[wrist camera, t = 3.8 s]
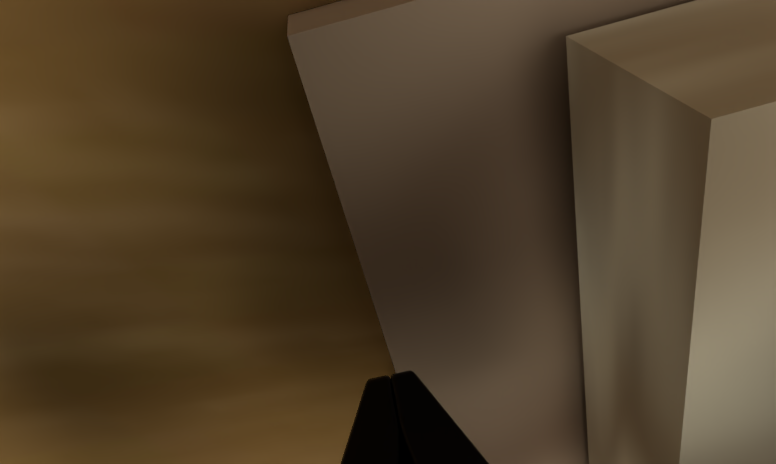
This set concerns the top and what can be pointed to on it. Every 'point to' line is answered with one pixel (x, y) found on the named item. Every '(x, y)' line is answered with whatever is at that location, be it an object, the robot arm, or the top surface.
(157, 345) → the top surface
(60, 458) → the top surface
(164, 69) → the top surface
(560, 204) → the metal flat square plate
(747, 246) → the fold-out leg
